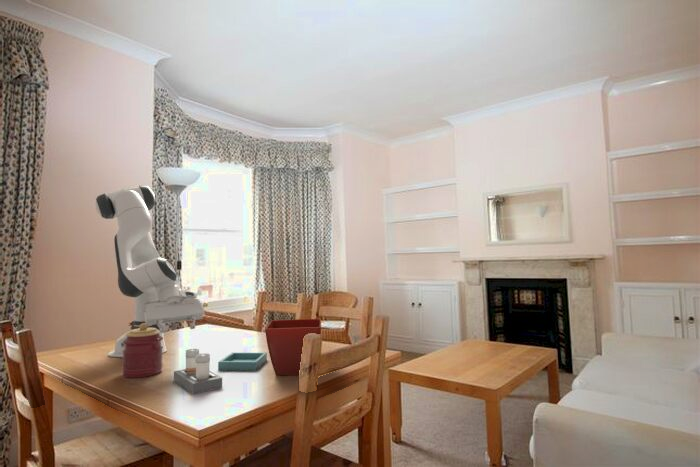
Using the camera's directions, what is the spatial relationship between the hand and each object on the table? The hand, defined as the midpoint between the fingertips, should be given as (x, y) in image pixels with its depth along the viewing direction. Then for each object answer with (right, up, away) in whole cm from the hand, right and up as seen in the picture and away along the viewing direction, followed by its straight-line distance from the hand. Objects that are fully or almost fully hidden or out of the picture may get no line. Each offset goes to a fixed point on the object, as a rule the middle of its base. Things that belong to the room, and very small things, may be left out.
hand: (179, 329), depth 142 cm
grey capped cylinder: (+8, -15, -10) cm, 19 cm away
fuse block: (+11, -14, -13) cm, 22 cm away
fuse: (+14, -14, -16) cm, 26 cm away
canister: (-13, -16, 0) cm, 20 cm away
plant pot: (+41, -15, +1) cm, 44 cm away
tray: (+21, -15, +9) cm, 27 cm away
